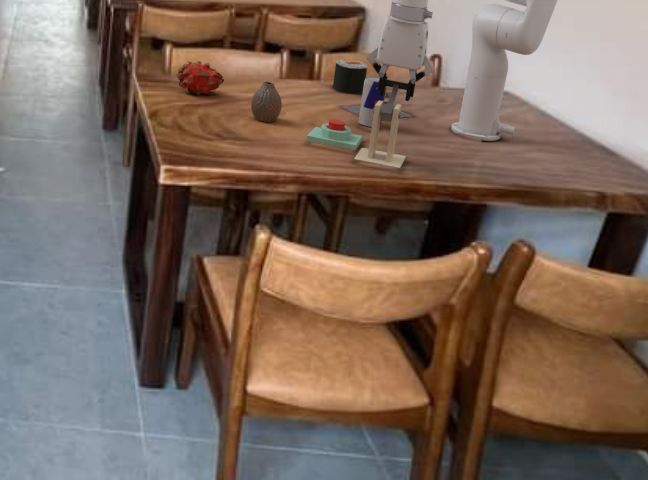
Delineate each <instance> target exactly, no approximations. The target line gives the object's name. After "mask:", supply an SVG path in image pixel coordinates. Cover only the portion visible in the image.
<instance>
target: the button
mask: <svg viewBox="0 0 648 480" xmlns="http://www.w3.org/2000/svg"><path fill="white" fill-rule="evenodd" d="M328 123H329V125H328V128H329V129H331V130H336V131H344V128H345V126H346V122H345V121H344V120H341V119H329V120H328Z"/></svg>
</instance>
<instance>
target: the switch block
mask: <svg viewBox="0 0 648 480" xmlns="http://www.w3.org/2000/svg"><path fill="white" fill-rule="evenodd" d="M328 125H329V122H328V123H323V124H321V125H320V126H319V127H318V126H315V127H313V128H312V129H311V131H310V132H309V133H308V134H307V135H306V142H309V143H316V144H319V145H320V144H321V145H326V146H330V147H336V148H341V149H345V150H350V151H356V150H357V149H358V147H359V146H360V144H361V143H362V142H363V135H360V134H354V133H352V129H351V128H350V127H349V126H346V125H345V128H344V131H336V130H331V129H329V128H328Z"/></svg>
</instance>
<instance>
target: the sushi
mask: <svg viewBox="0 0 648 480" xmlns="http://www.w3.org/2000/svg"><path fill="white" fill-rule="evenodd" d="M368 66H369V65H368V64H367V63H365V62H364V61H360V60H355V59H337V60H335V66H334V75H333V83H332V89H334V90H336V91H338V92H340V93H345V94H354V95H355V94H357V95H358V94H359V95H360V94H361V95H362V94H363V87H364V81H365V79H366V77H367V73H368Z"/></svg>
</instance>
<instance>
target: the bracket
mask: <svg viewBox="0 0 648 480" xmlns="http://www.w3.org/2000/svg"><path fill="white" fill-rule="evenodd" d="M382 106H383V101H378V102H377V104H376V105H375V107H374V109H373V114H374V117H373V124H372V128H371V131H370V137H369V145H368V148H367V147H361V148H360V149H359V150H358V152H357V154H356V155H355V157H354V158H353V160H355V161H359V162H364V163H370V164H374V165H381V166H386V167H390V168H396V169H401V167H402V166H403V163H404V161H405V160H406V158H407V156H406V155H401V154H396V153H395V149H396V143H397V137H398V131H399V130H398V129H399V124H400V120H401V119H402V117H401V115H402V113H401V111H402V104H400V103H397V104H396V105H394V111H393V117H392V120H391V124H390V131H389V137H388V143H387V144H388V145H387V149H386V150H387V151H381V150H377V146H378V140H379V139H378V138H379V134H380V133H379V132H380V127H381V126H380V120H381V111H382ZM379 126H380V127H379Z"/></svg>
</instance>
